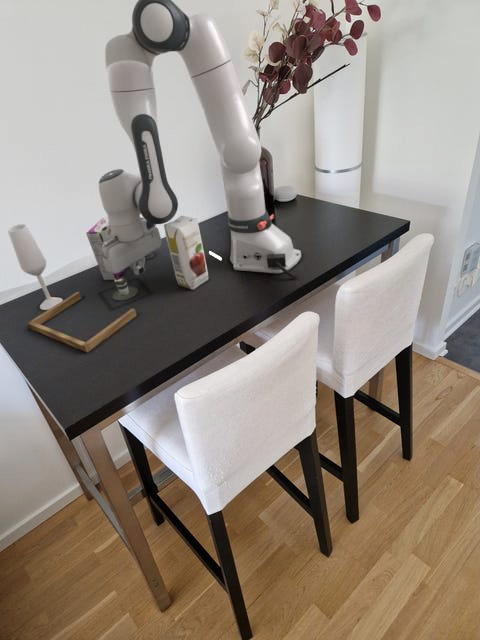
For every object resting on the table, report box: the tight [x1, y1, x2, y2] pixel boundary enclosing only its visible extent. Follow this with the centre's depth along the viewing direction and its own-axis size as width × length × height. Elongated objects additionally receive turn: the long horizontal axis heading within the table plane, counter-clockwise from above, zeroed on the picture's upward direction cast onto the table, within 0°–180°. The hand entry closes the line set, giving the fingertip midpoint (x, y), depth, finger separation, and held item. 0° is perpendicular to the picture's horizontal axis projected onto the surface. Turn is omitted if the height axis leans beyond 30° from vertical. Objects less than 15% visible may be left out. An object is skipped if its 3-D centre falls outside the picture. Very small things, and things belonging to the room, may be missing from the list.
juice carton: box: [163, 215, 209, 290], centre depth 121 cm, size 8×9×19 cm
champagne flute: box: [7, 223, 64, 311], centre depth 120 cm, size 7×7×24 cm
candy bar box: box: [86, 217, 127, 281], centre depth 134 cm, size 11×5×16 cm, turn 168°
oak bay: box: [26, 291, 138, 354], centre depth 115 cm, size 24×17×2 cm
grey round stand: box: [111, 276, 139, 302], centre depth 125 cm, size 12×12×5 cm
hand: (139, 272), depth 129 cm, fingers closed
